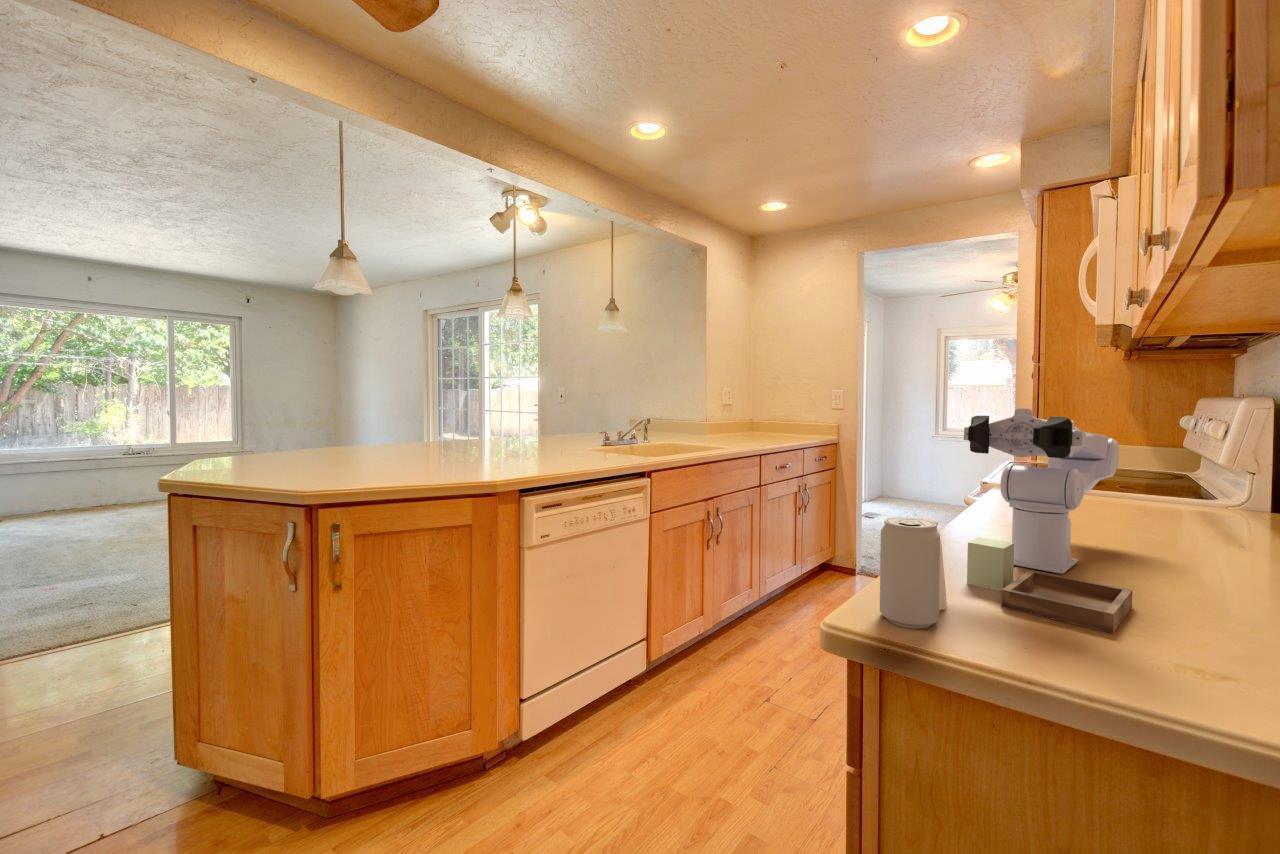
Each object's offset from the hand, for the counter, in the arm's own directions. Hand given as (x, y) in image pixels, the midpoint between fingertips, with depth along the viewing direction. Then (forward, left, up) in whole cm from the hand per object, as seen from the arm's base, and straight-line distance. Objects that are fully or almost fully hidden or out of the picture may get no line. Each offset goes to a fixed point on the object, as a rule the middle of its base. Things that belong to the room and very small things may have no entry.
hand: (1002, 434), depth 76 cm
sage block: (-3, -2, -22) cm, 22 cm away
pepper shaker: (+12, -5, -22) cm, 25 cm away
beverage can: (+19, -4, -22) cm, 29 cm away
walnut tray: (0, +8, -22) cm, 23 cm away
